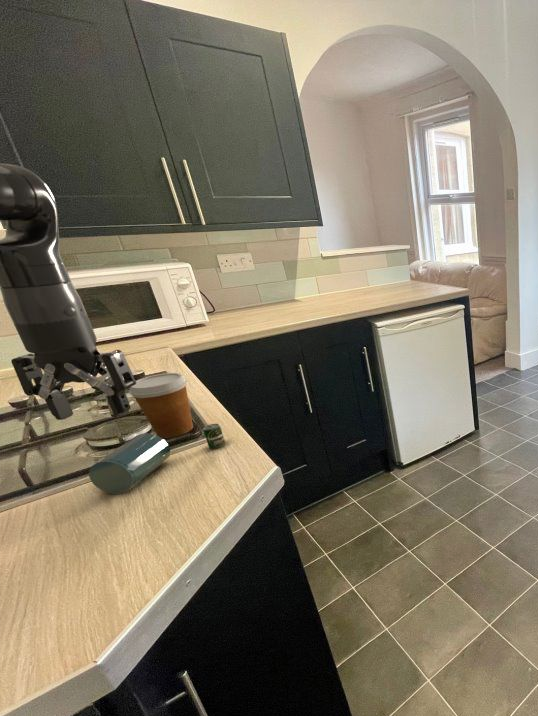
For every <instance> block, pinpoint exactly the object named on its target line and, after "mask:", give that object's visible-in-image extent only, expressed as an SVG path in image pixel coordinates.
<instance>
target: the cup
mask: <svg viewBox="0 0 538 716" xmlns="http://www.w3.org/2000/svg"><path fill="white" fill-rule="evenodd" d="M170 456H171V448H170V446H169V444H168V443H167V441H166V440H165V438H160V437H159V436H157V434H153V433H140V434H138V435H136V436H134V437H133V438H131V439H129V440H128V441H127V442H125V443H124V444H122V445H121V446H118V447H117V448H116V449H115V450H113V451H112V452H110V453H108V454H107V455H105V456H104V457H101V459H99V460H98V461H96V462H95V463H94V464H93V465H91V466H90V468H89V471H88V478H89V480H90V482H91V483H92V485H94V487H96V488H97V489H98V490H99V491H102V492H104V493H107V494H111V495H121V494H124V493H127V492H129V491H130V490H132V489H133V488H134V487H135V486H137V485H138V484H139V483H140V482H141V481H143V480H144V479H145V478H147V477H149V475H151V474H152V473H153V472H154V471H155V470H157V469H158V468H159V467H160V466H161V465H163V464H164V463H165V462H167V461H168V459H169V458H170Z"/></svg>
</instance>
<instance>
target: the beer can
mask: <svg viewBox="0 0 538 716" xmlns="http://www.w3.org/2000/svg"><path fill="white" fill-rule="evenodd" d="M202 429H203V434H204V437H205V440H206V443H207V446H208V448H209V449H211V450H214V449H215V450H216V449H221V448H222V447H224V446H225V444H226V439H225V436H224V434H223V431H222V427H221V426H220V424H219V423H210V424H207V425H206V426H204V427H203V428H202Z"/></svg>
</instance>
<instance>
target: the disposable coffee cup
mask: <svg viewBox="0 0 538 716" xmlns="http://www.w3.org/2000/svg"><path fill="white" fill-rule="evenodd" d="M135 381H136V384H135V385H134V386H132V387H130V388H129V391H128V394H129V395H131V397H133V398H134V399H135V401H136V402H137V404H138V406H139V408H140V409H141V411H142V413H143V414H144V416H145V417H146V419H147V422H148V423H149V425H150V426H151V428H152V430H153V431H154V433H155V435H157V436H159V437H160V438H162V439H168V438H169V439H170V438H175V437H180V436H182V435H184V434H186V433H189V432H191V431H192V430H193V428H194V425H193V419H192V415H191V414H192V413H191V407H190V402H189V396H188V390H187V382H188V379H187V378H185V377H184V376H183V374H182V373H180V372H167V373H166V372H165V373H160V374H159V373H158V374H154V375H149V376H146V377H142V378H140V379H137V380H135Z"/></svg>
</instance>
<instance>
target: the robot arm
mask: <svg viewBox="0 0 538 716" xmlns="http://www.w3.org/2000/svg"><path fill="white" fill-rule="evenodd" d="M0 221H1V222H2V221H3V222H4V221H5V236H4V237H3V238H2V239H1V238H0V292H1V296H2V300H3V304H4V307H5V308H6V311H7V313H8V315H9V317H10V319H11V321H12V323H13V326H14V328H15V329H16V332H17V334H18V336H19V338H20V341H21V342H22V345H23V347H24V349H25V350H26V352H28V354H27V353H26V354H23V355H20V356H17V357H14V358H12V359H11V365H12V367H13V369H14V372H15V374H16V377H17V379H18V381H19V383H20V386H21V388H22V391H23V393H24V394H25V395H26V396H28V397H32V396H36V397H37V396H38V397H39V398H40V399H42V400H44V401H45V403H46V406H47V407H48V409H49V412H50V414H51V415H52V416H53V417H54V418H55V419H56V420H57V421H63V420H67V419H68V418H70V417H72V416H73V415H74V411H73V409H72V407H71V405H70V402H69V400H68V398H67V396H66V394H65V393H62V391H63V389H64V386H65V384H70V383H86V384H87V385H88V386H90V387H92V388H93V387H94V388H98V389H99V390H100V391H102V392H103V393H104V394H106V399H107V402H108V404H109V406H110V409H111V411H112V414H113V416H114V417H115V418H116V417H118V418H119V417H123V416H125V415H126V414H128V413H129V412H130V410H131V403H130V400H129V399H128V396H127V394H126V391H127V390H128V389H130V387H132V386H134V385H135V384H136V381H137V380H136V379H135V376H134V374H133V371H132V369H131V368H130V365H129V363H128V360H127V358H126V357H125V354H124V353H123V351H122V350H120V349H114V350H113V351H110V352H103V353H102V352H101V351H99V349H98V348H97V346H96V344H97V340H98V338H97V336H96V334H95V331H94V328H93V326H92V324H91V320H90V318H89V316H88V313H87V311H86V308H85V305H84V303H83V301H82V298H81V296H80V295H79V293H78V291H77V290H76V288H75V286H74V284H73V282H72V280H71V277H70V274H69V272H68V270H67V268H66V265H65V262H64V260H63V258H62V256H61V252H60V232H59V231H60V230H59V215H58V207H57V203H56V199H55V196H54V195H53V192H52V190H51V189H50V188H49V186H48V185H47V184H46V182H45V181H44V180H43V179H42V178H41V177H40V176H39V175H37V174H36V173H35V172H34V171H32V170H31V169H28V168H26V167H23V166H20V165H17V164H10V163H1V162H0ZM98 374H99V375H100V376H98ZM33 382H34V383H33Z"/></svg>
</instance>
